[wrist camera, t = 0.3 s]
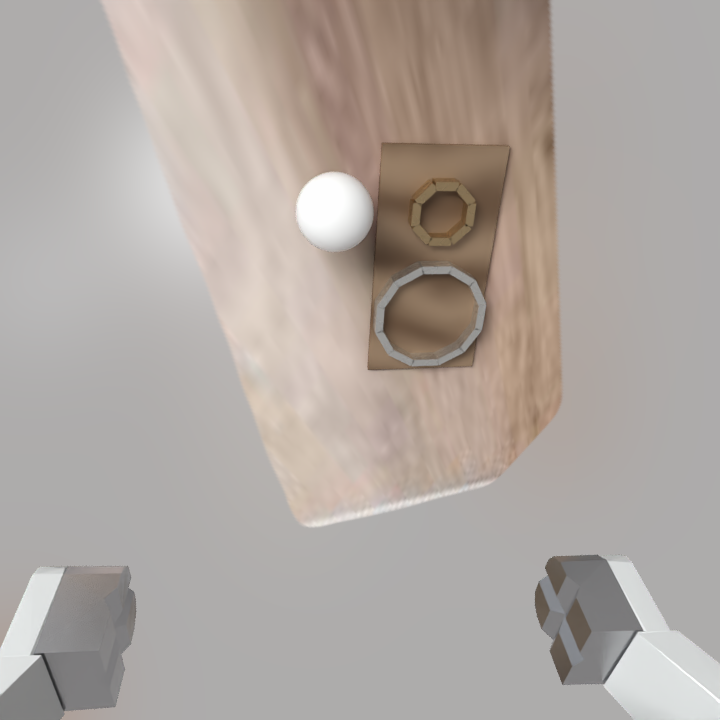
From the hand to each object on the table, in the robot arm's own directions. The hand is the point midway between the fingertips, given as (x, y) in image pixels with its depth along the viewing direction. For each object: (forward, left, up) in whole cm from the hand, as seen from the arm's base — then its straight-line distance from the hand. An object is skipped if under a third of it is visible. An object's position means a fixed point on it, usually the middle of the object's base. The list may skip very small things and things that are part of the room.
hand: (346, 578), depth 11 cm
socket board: (+13, +15, -47) cm, 51 cm away
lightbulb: (+5, +4, -47) cm, 47 cm away
